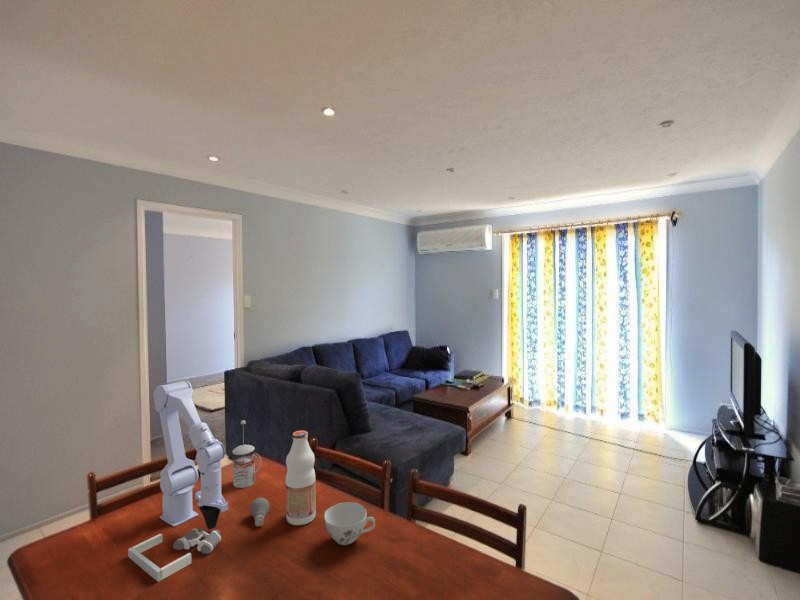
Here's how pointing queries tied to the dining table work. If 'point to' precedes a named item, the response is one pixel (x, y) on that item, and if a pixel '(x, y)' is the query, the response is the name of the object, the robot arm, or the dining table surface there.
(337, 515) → the teacup
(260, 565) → the dining table surface
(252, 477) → the french press
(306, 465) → the fruit juice
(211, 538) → the binoculars
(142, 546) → the u-shaped open frame
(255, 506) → the light bulb
